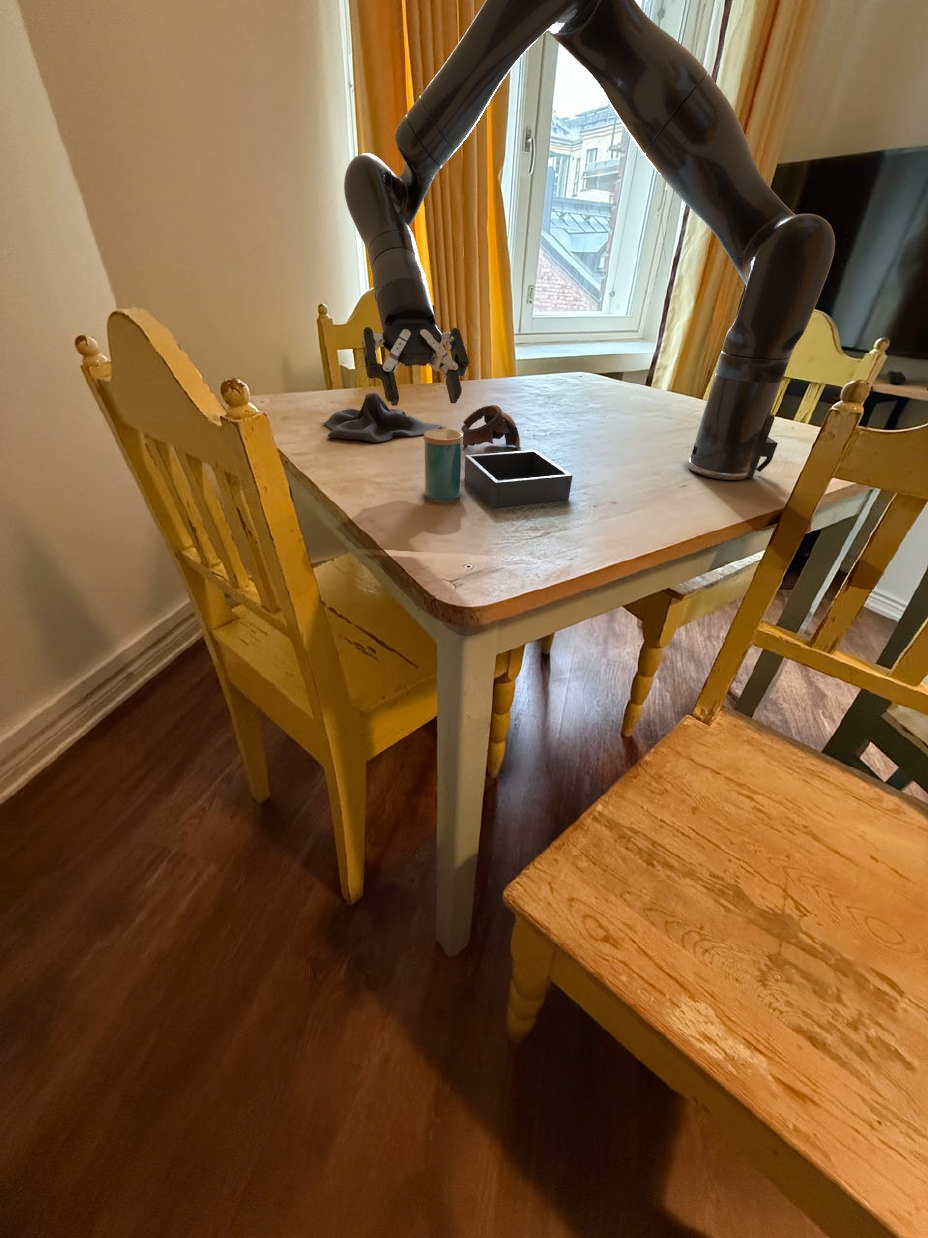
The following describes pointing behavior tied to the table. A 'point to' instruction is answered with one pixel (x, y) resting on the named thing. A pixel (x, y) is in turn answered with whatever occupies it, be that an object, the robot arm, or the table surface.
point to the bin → (517, 478)
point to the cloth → (375, 422)
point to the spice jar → (442, 464)
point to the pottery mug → (490, 427)
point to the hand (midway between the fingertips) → (426, 401)
